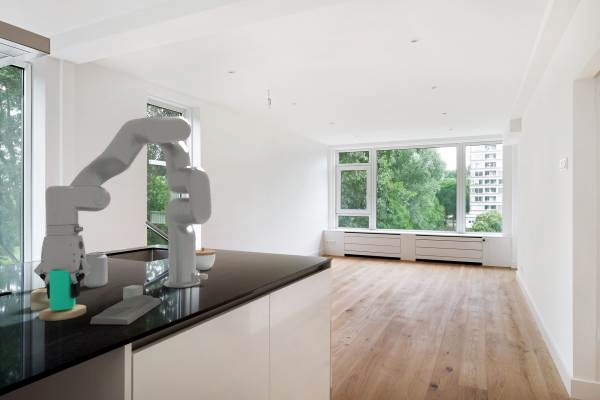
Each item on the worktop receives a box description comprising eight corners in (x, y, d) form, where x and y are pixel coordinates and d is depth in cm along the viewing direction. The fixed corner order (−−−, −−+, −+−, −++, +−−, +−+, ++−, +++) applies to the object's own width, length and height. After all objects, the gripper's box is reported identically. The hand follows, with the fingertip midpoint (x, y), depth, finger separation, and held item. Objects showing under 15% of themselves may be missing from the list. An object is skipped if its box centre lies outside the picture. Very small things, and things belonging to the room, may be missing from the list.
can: (97, 288, 136) (97, 254, 136) (79, 287, 137) (78, 253, 137) (112, 283, 143) (111, 251, 143) (94, 282, 145) (94, 250, 145)
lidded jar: (193, 266, 177) (192, 246, 177) (216, 266, 178) (216, 245, 178) (188, 271, 167) (188, 249, 166) (214, 270, 168) (213, 249, 168)
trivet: (93, 308, 111) (93, 304, 111) (72, 320, 100) (72, 315, 100) (54, 308, 111) (54, 304, 111) (29, 321, 100) (29, 316, 100)
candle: (56, 311, 102) (56, 266, 101) (45, 308, 105) (44, 264, 105) (80, 306, 107) (79, 262, 107) (68, 302, 110) (67, 260, 110)
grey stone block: (142, 298, 122) (142, 285, 122) (133, 301, 119) (133, 288, 119) (132, 297, 124) (132, 285, 124) (123, 300, 120) (123, 287, 120)
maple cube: (56, 304, 116) (56, 287, 116) (51, 308, 112) (50, 291, 112) (37, 305, 115) (36, 288, 115) (30, 310, 110) (30, 292, 110)
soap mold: (88, 326, 98) (88, 312, 98) (129, 304, 118) (129, 292, 118) (128, 326, 97) (128, 313, 97) (162, 304, 117) (162, 293, 117)
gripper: (101, 229, 110) (102, 293, 110) (39, 230, 109) (40, 294, 109) (87, 232, 102) (88, 300, 102) (21, 232, 101) (22, 301, 102)
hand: (63, 296), depth 106 cm, fingers closed on candle, 5 cm apart
